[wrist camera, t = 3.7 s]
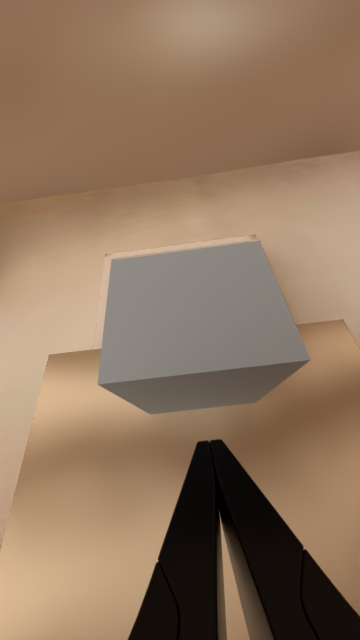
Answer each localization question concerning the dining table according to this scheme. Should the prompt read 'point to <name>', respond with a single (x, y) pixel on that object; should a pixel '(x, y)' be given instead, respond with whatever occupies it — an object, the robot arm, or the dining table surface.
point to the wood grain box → (171, 488)
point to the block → (197, 330)
